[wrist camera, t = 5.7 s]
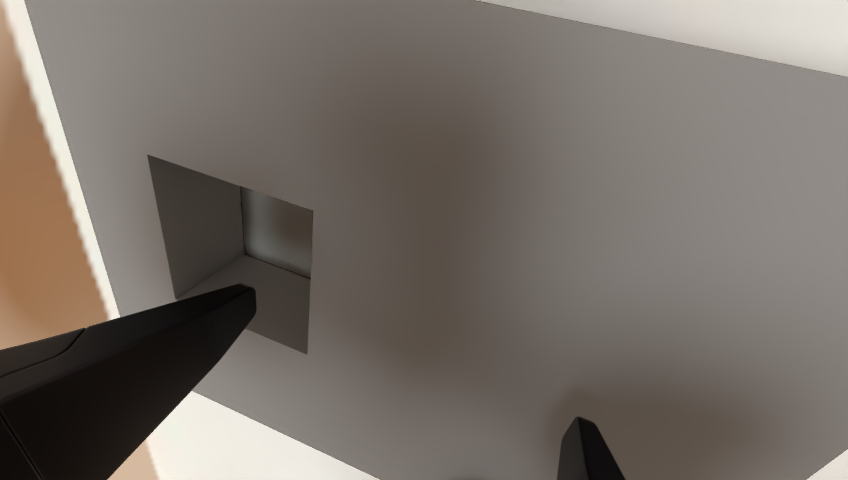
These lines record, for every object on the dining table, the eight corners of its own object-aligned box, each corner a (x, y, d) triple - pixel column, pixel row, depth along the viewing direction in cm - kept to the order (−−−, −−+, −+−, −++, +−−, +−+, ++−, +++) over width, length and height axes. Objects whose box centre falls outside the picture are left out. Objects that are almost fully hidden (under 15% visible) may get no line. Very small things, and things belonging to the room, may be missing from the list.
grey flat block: (624, 498, 16) (639, 602, 13) (198, 316, 20) (134, 363, 17) (978, 116, 8) (1243, 158, 5) (138, -61, 12) (-6, -99, 9)
